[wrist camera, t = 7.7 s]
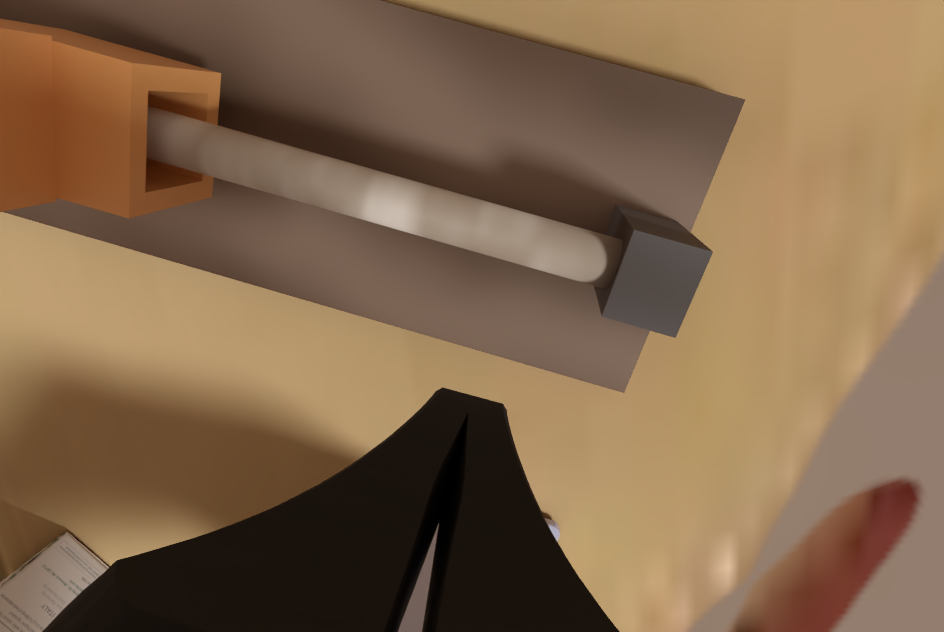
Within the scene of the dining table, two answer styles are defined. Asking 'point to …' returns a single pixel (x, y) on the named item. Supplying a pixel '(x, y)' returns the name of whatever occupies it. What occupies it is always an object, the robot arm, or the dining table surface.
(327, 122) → the grey slider rail
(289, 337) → the dining table surface
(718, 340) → the dining table surface
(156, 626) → the robot arm
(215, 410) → the dining table surface
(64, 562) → the syrup box
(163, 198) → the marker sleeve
